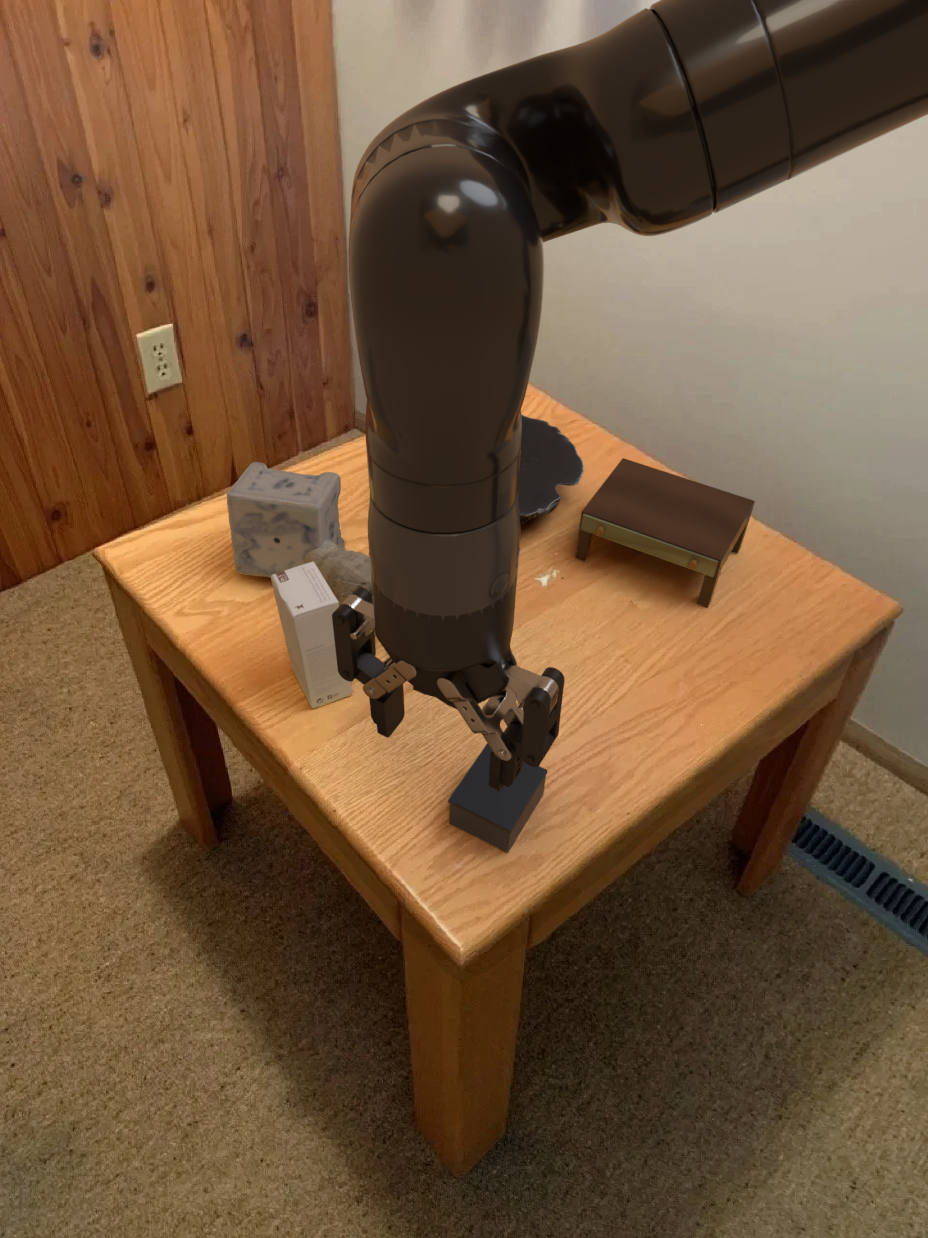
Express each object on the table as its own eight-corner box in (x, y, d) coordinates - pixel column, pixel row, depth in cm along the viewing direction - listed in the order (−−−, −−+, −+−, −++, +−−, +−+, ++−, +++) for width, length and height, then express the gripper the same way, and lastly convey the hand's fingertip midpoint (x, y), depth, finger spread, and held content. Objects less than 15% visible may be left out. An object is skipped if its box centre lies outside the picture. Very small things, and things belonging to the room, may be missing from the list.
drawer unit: (705, 613, 92) (718, 565, 87) (571, 563, 97) (577, 515, 92) (740, 547, 99) (755, 500, 95) (614, 504, 104) (622, 457, 100)
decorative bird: (323, 559, 97) (316, 504, 92) (436, 630, 90) (436, 575, 85) (286, 586, 94) (276, 530, 89) (400, 660, 87) (397, 605, 82)
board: (356, 479, 107) (353, 443, 103) (502, 420, 116) (503, 384, 113) (467, 582, 95) (468, 545, 91) (619, 507, 104) (626, 470, 100)
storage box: (508, 854, 72) (510, 831, 70) (447, 824, 74) (448, 799, 72) (544, 794, 76) (547, 770, 74) (486, 766, 78) (487, 742, 76)
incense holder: (348, 543, 99) (341, 464, 91) (326, 594, 93) (316, 515, 85) (262, 531, 100) (248, 452, 92) (235, 581, 94) (217, 502, 87)
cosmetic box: (354, 695, 84) (344, 601, 75) (309, 712, 82) (293, 618, 74) (330, 651, 88) (318, 557, 79) (286, 666, 86) (268, 572, 77)
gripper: (603, 564, 46) (571, 757, 57) (368, 477, 51) (383, 671, 62) (537, 659, 41) (517, 848, 53) (285, 554, 46) (318, 747, 58)
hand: (444, 752), depth 57 cm, fingers open, 7 cm apart
